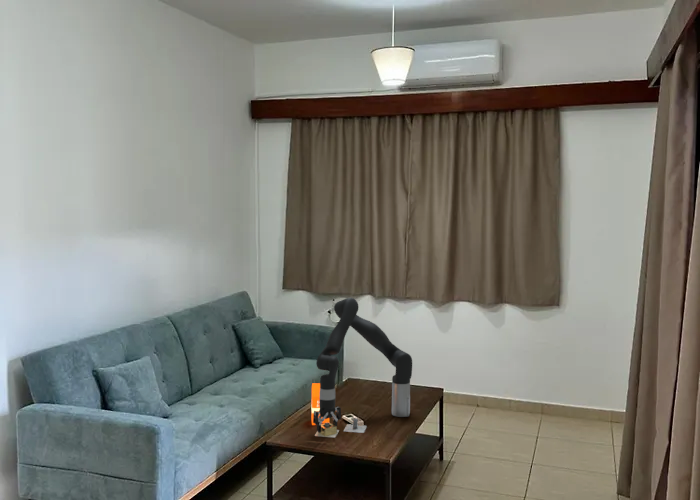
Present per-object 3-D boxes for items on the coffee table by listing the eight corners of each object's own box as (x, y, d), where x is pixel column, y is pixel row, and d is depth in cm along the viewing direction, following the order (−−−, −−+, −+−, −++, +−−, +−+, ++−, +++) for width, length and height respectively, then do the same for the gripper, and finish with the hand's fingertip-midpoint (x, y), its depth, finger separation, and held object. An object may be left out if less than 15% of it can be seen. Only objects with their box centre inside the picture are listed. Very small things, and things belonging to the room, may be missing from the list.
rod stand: (367, 427, 326) (367, 416, 325) (363, 434, 316) (363, 423, 315) (347, 425, 327) (347, 415, 327) (343, 432, 318) (343, 422, 317)
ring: (329, 429, 319) (329, 422, 319) (336, 433, 314) (336, 426, 314) (317, 432, 316) (318, 425, 315) (325, 436, 310) (325, 428, 310)
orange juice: (311, 419, 335) (311, 381, 334) (328, 419, 336) (329, 380, 335) (311, 425, 328) (312, 385, 326) (329, 424, 328) (330, 385, 327)
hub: (339, 431, 319) (339, 420, 318) (335, 439, 309) (335, 427, 309) (319, 430, 321) (319, 419, 320) (314, 437, 311) (314, 426, 310)
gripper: (335, 392, 321) (335, 425, 322) (310, 397, 313) (310, 431, 314) (344, 396, 314) (343, 430, 316) (318, 401, 306) (318, 435, 308)
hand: (327, 430), depth 315 cm, fingers open, 8 cm apart
